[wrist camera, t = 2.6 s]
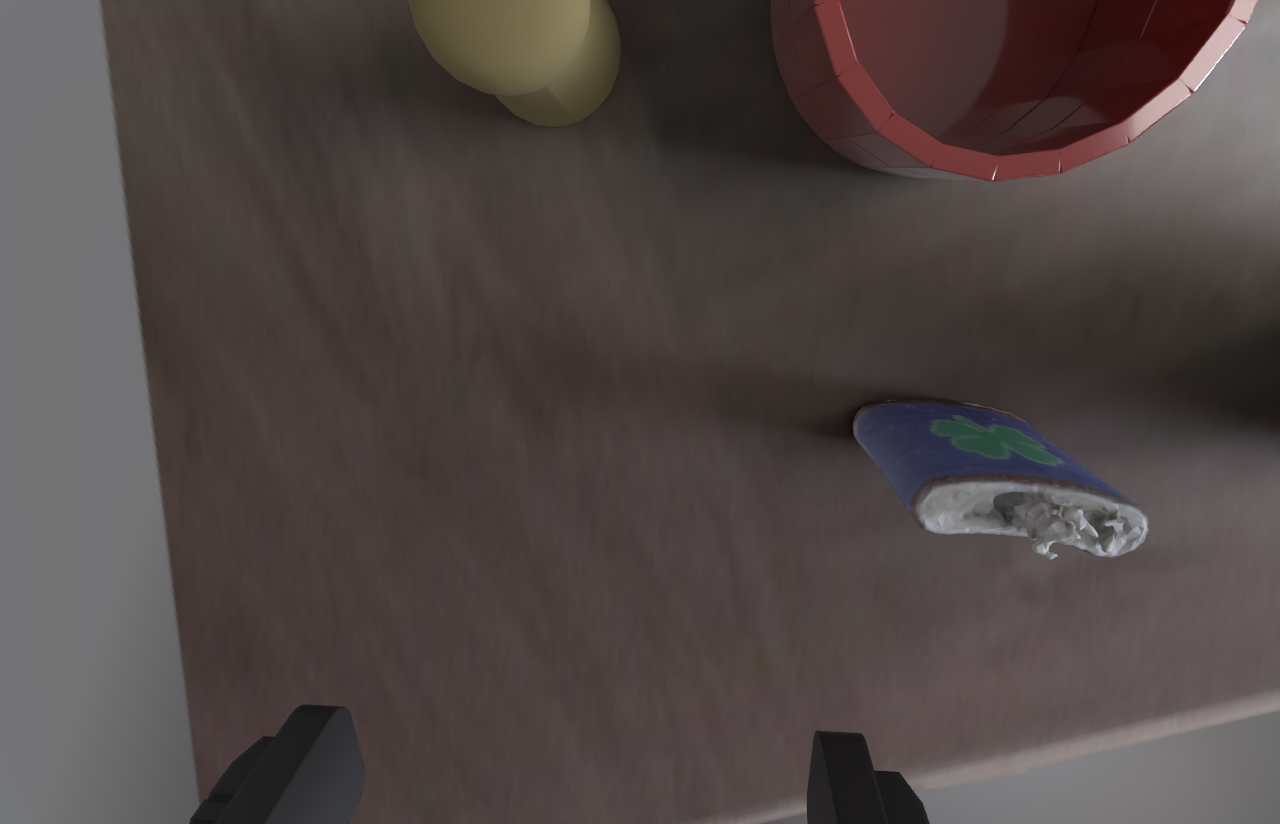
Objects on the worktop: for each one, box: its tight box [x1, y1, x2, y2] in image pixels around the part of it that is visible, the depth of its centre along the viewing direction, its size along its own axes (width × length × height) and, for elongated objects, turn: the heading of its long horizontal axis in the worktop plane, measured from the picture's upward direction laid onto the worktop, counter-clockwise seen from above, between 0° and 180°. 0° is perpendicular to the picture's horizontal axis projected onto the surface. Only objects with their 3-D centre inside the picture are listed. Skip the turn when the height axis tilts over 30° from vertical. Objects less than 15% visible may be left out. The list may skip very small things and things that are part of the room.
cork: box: [408, 0, 622, 127], centre depth 22 cm, size 6×6×11 cm
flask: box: [853, 399, 1149, 560], centre depth 28 cm, size 9×3×11 cm, turn 83°
